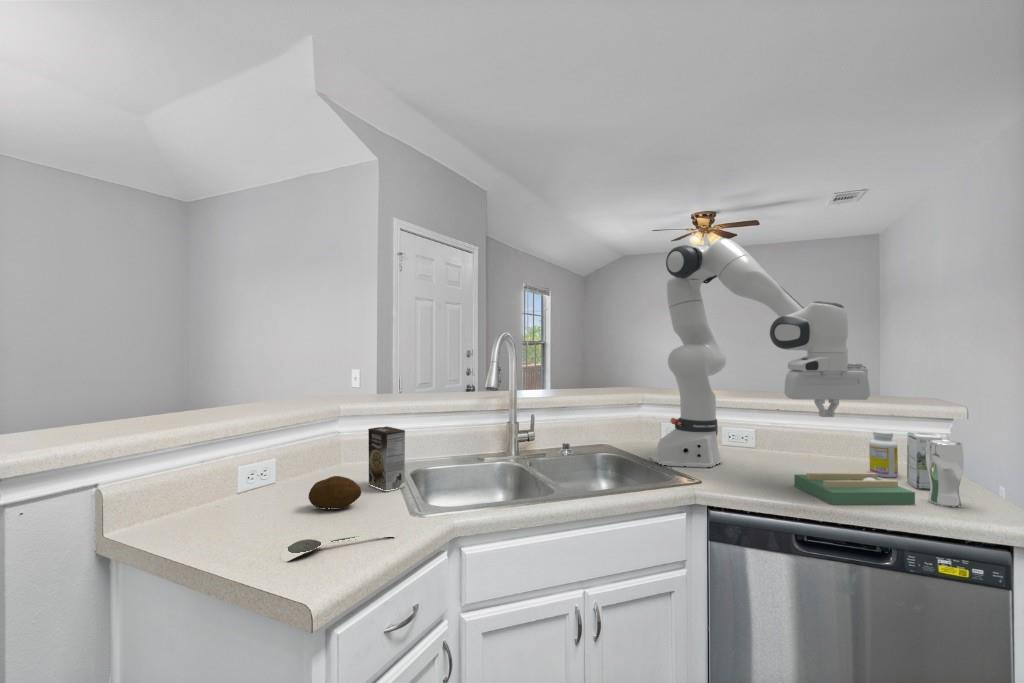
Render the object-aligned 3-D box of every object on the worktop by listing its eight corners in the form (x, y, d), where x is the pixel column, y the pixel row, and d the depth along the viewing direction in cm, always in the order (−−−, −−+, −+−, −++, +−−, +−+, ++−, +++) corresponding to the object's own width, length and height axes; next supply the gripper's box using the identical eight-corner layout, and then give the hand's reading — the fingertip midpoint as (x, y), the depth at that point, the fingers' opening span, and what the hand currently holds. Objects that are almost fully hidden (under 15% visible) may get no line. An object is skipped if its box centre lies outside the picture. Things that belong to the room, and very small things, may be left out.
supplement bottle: (887, 472, 146) (887, 430, 147) (903, 478, 140) (903, 434, 140) (864, 472, 147) (864, 429, 147) (878, 478, 141) (878, 433, 141)
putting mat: (832, 504, 118) (832, 486, 118) (794, 485, 134) (794, 469, 134) (915, 504, 118) (914, 486, 118) (867, 485, 134) (867, 468, 134)
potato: (311, 504, 120) (311, 473, 121) (363, 500, 123) (363, 470, 123) (304, 515, 113) (304, 482, 113) (360, 511, 115) (360, 479, 115)
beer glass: (967, 510, 114) (966, 446, 114) (928, 504, 117) (928, 443, 117) (959, 501, 120) (959, 441, 120) (923, 497, 123) (922, 438, 123)
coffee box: (367, 486, 135) (367, 428, 136) (387, 481, 140) (387, 425, 140) (385, 493, 129) (385, 432, 129) (405, 487, 134) (405, 429, 134)
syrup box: (931, 485, 133) (931, 432, 133) (943, 491, 128) (942, 436, 128) (906, 483, 135) (906, 431, 135) (916, 489, 130) (916, 435, 130)
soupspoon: (278, 556, 94) (278, 572, 88) (277, 539, 93) (277, 554, 88) (393, 532, 103) (399, 545, 97) (392, 517, 103) (399, 529, 97)
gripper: (858, 363, 129) (858, 414, 129) (781, 362, 129) (781, 414, 129) (876, 364, 123) (875, 419, 123) (795, 364, 123) (794, 418, 123)
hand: (826, 416), depth 126 cm, fingers closed
